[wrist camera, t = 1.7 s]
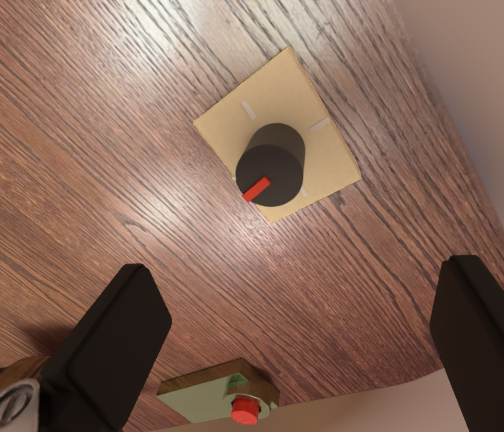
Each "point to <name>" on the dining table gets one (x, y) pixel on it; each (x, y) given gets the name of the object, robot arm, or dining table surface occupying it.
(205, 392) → the switch box
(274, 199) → the dial
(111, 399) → the robot arm
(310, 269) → the dining table surface
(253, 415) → the power button
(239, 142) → the rotary knob control box
